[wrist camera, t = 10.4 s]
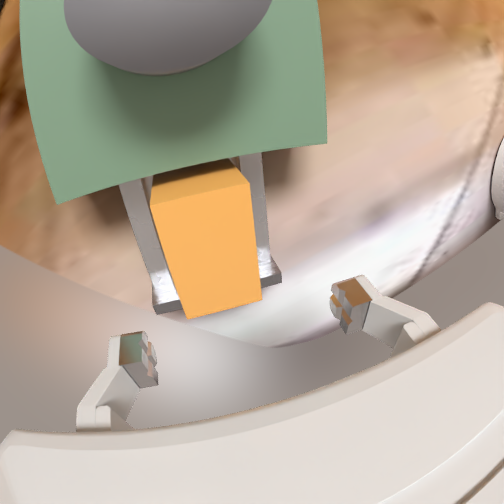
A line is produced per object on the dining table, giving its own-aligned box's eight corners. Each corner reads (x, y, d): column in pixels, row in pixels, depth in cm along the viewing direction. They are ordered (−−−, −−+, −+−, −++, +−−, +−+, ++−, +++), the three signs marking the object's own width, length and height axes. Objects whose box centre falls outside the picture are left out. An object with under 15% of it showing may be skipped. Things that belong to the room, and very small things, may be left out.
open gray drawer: (254, 133, 19) (273, 143, 16) (266, 256, 25) (281, 282, 22) (116, 164, 18) (106, 181, 14) (155, 283, 24) (156, 314, 21)
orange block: (225, 155, 19) (249, 183, 14) (239, 251, 23) (262, 299, 19) (153, 171, 18) (149, 205, 13) (179, 265, 22) (187, 319, 18)
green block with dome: (275, -38, 12) (342, -86, 5) (293, 130, 20) (367, 164, 13) (49, 3, 9) (-12, -31, 2) (79, 178, 17) (32, 242, 10)
